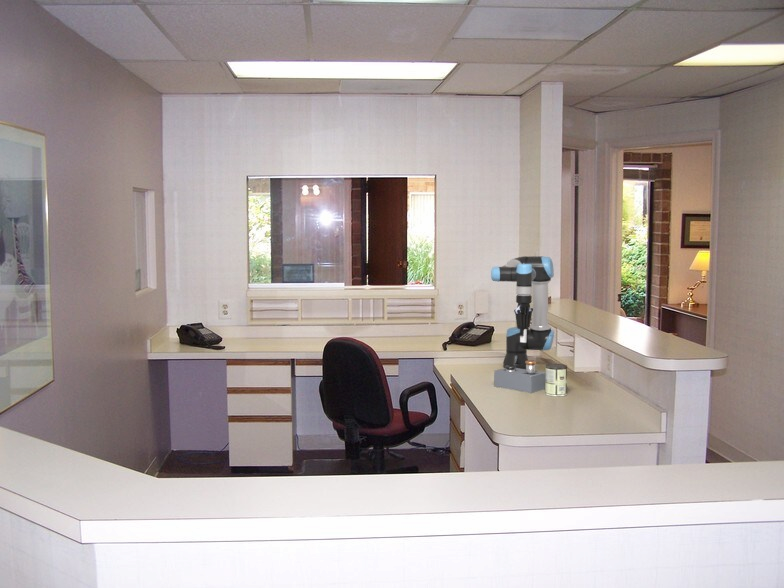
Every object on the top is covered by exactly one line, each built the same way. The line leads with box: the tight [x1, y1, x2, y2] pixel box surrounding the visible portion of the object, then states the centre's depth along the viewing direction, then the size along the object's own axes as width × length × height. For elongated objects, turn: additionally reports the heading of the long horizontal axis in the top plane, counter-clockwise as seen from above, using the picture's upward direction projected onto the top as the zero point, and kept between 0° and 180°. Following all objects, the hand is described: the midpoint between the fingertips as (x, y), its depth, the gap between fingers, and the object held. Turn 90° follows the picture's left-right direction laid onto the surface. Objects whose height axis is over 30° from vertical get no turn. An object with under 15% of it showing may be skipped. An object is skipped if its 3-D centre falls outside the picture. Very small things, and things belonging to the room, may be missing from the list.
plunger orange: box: [525, 359, 537, 375], centre depth 354 cm, size 5×5×8 cm
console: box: [493, 367, 546, 394], centre depth 358 cm, size 14×22×8 cm, turn 46°
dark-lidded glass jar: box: [504, 365, 516, 372], centre depth 363 cm, size 5×5×8 cm
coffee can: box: [544, 363, 568, 398], centre depth 343 cm, size 10×10×14 cm
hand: (523, 342), depth 355 cm, fingers closed
